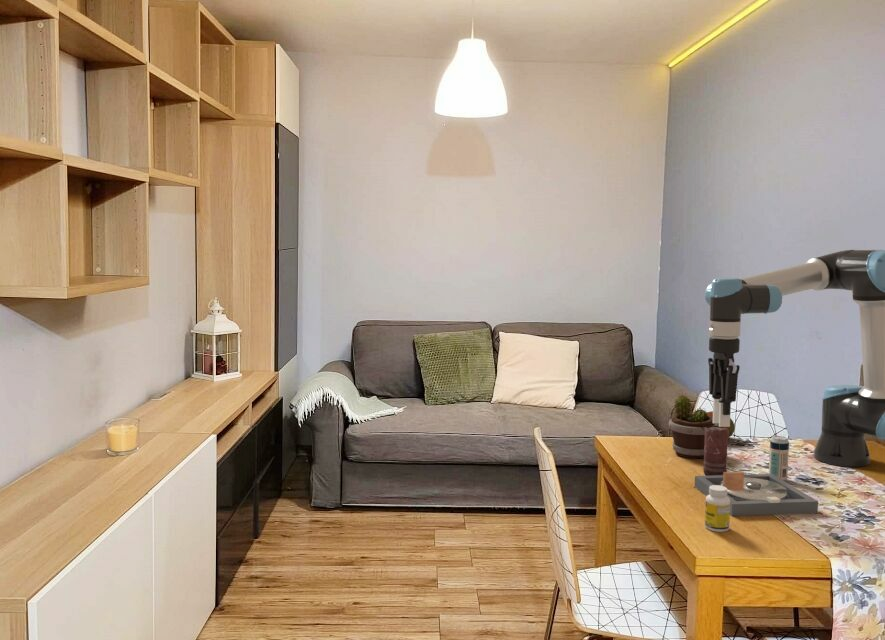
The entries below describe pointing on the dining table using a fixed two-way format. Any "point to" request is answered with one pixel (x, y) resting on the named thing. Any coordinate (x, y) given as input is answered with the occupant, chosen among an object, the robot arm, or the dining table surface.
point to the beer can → (779, 457)
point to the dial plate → (771, 506)
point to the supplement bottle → (717, 509)
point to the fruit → (731, 428)
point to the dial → (751, 487)
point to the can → (715, 450)
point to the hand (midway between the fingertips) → (721, 424)
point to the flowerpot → (689, 428)
